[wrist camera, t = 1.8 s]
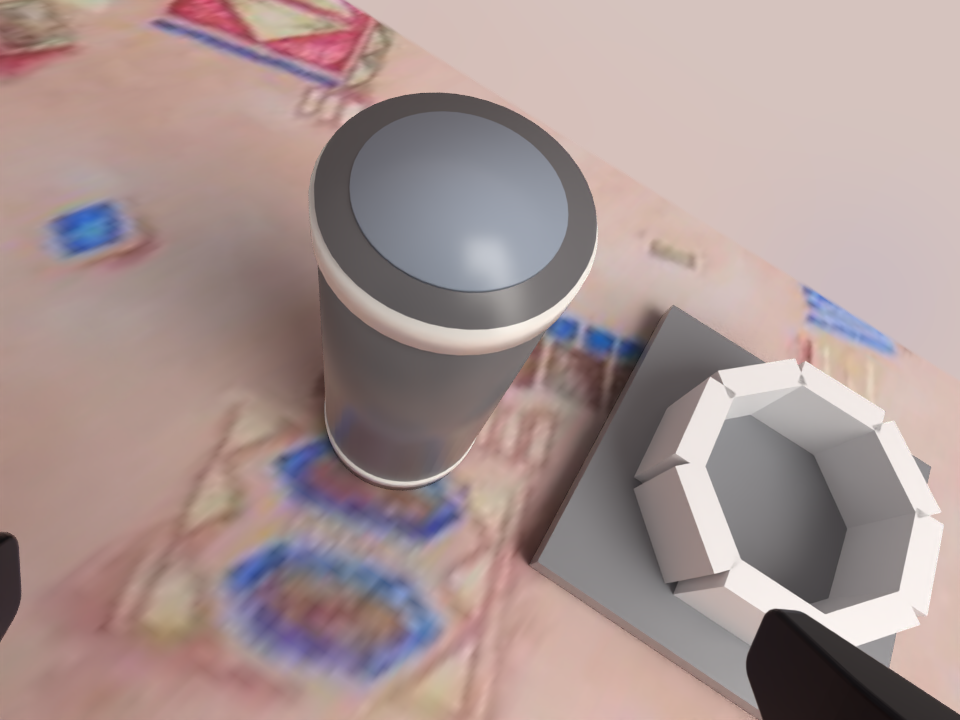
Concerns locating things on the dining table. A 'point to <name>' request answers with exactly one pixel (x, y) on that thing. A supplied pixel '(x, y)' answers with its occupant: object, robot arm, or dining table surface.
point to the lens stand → (743, 509)
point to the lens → (437, 274)
